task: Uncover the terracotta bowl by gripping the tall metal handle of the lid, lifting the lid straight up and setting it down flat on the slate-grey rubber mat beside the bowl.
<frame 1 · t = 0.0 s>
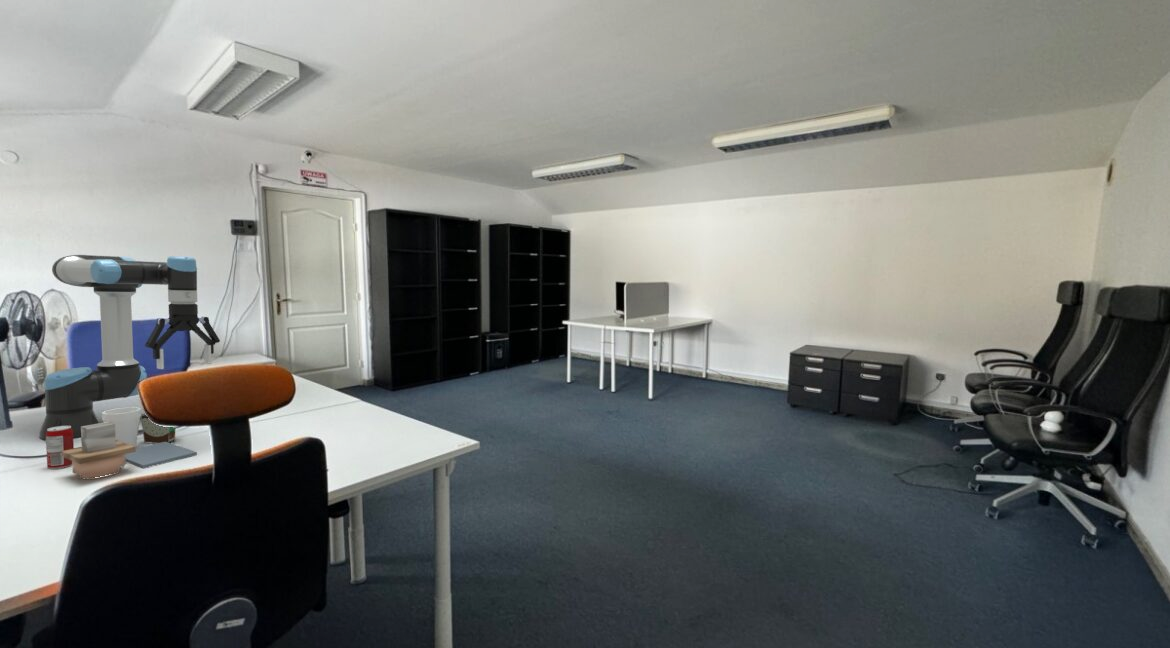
hand: (185, 366, 164), 28 cm above the table, tool pointing down, fingers open, 13 cm apart
bowl: (100, 473, 142), on the table
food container: (164, 441, 172), on the table
mat: (154, 455, 157), on the table
soda can: (61, 466, 146), on the table
foam cup: (123, 449, 163), on the table
lid: (99, 453, 141), point 6 cm above the table, touching bowl
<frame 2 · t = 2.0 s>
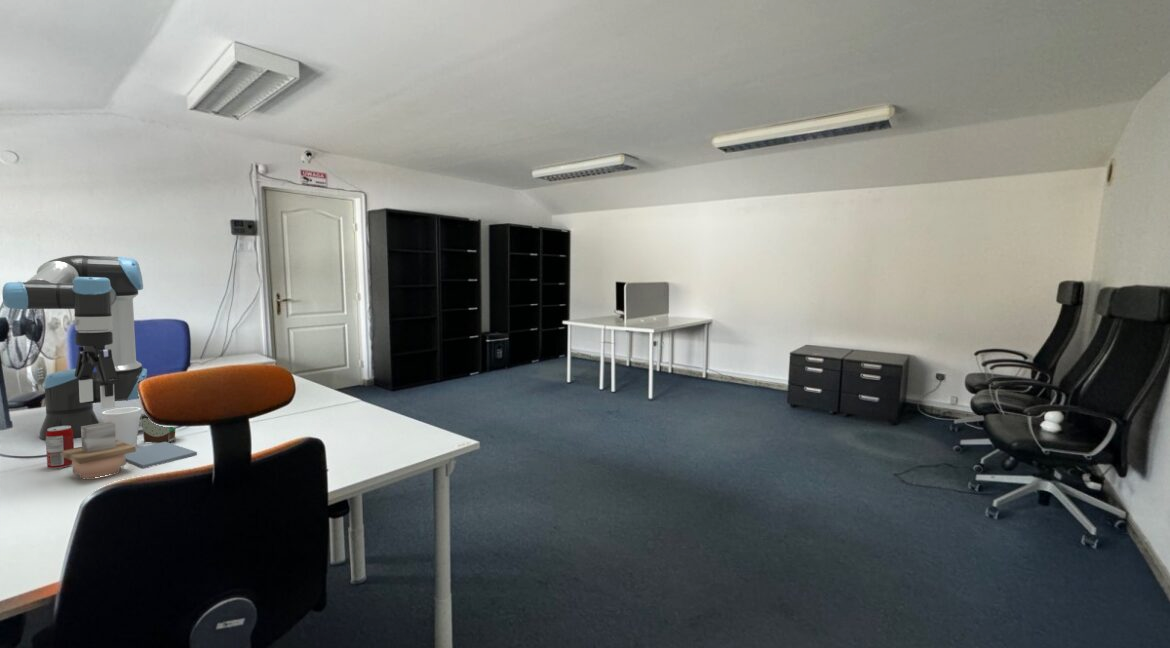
hand: (97, 404, 140), 21 cm above the table, tool pointing down, fingers open, 13 cm apart
nothing on the table moved.
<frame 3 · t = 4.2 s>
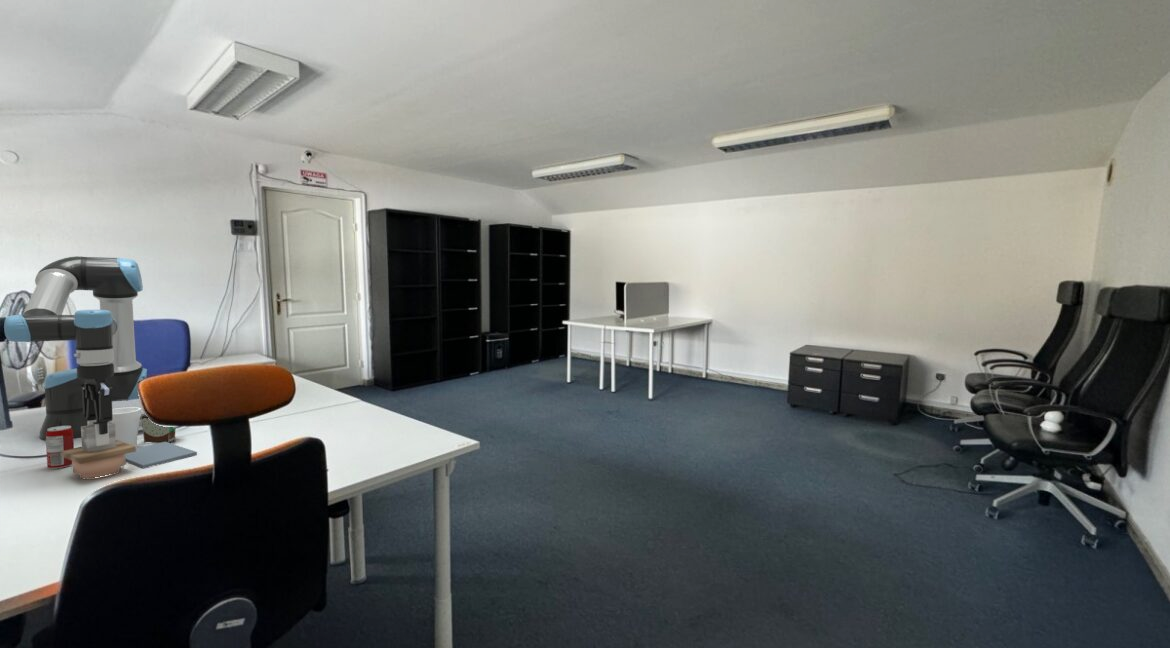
hand: (98, 443, 141), 9 cm above the table, tool pointing down, fingers closed on lid, 4 cm apart
lid: (99, 453, 141), point 6 cm above the table, touching bowl, gripper
everything else where it was.
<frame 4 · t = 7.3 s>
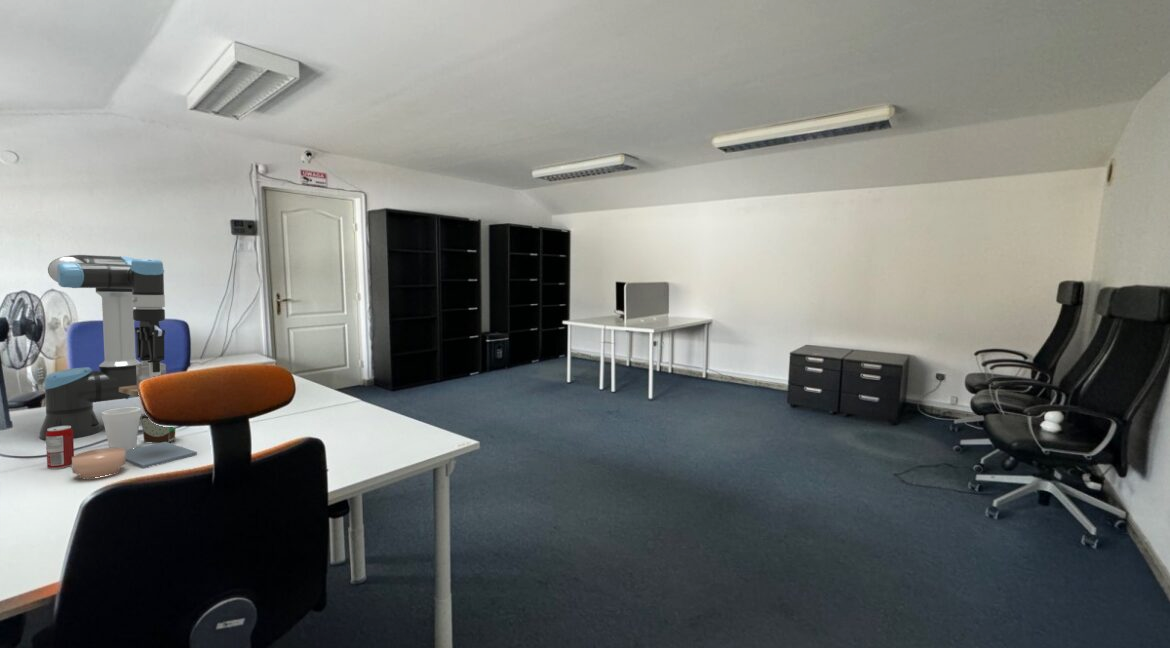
hand: (151, 381, 155), 24 cm above the table, tool pointing down, fingers closed on lid, 4 cm apart
lid: (151, 390, 155), point 21 cm above the table, touching gripper
everything else where it was.
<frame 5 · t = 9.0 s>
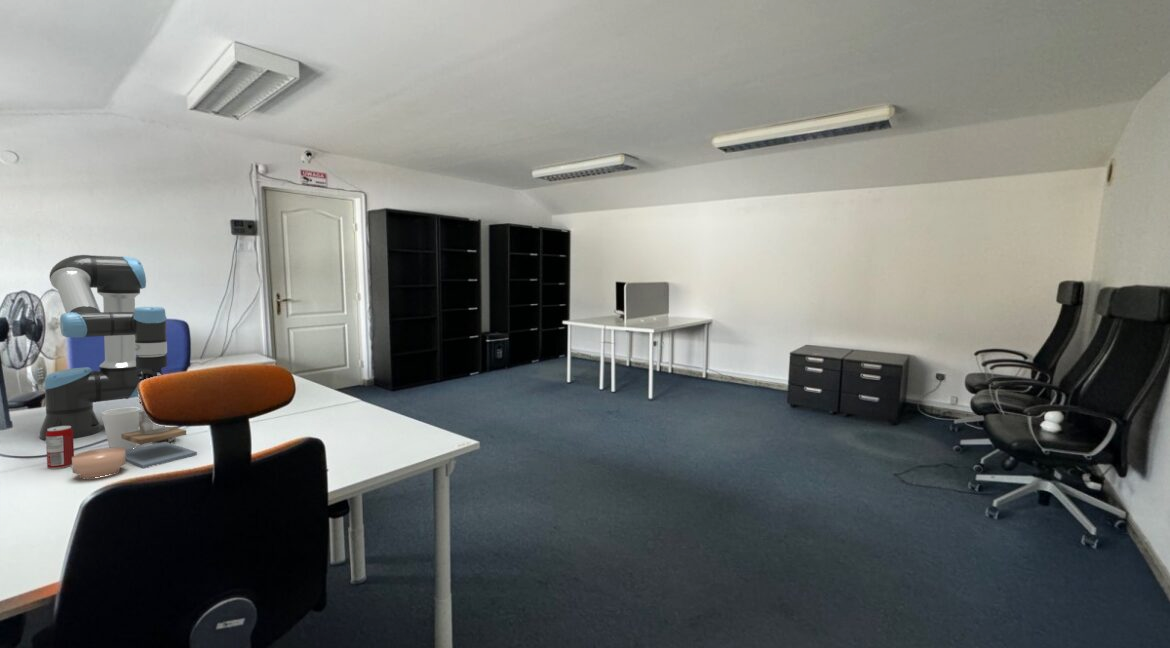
hand: (154, 427, 156), 9 cm above the table, tool pointing down, fingers closed on lid, 4 cm apart
lid: (154, 436, 157), point 6 cm above the table, touching gripper
everything else where it was.
when the fingers open (5 cm above the table, at t = 10.5 s): lid stays where it is, resting on mat.
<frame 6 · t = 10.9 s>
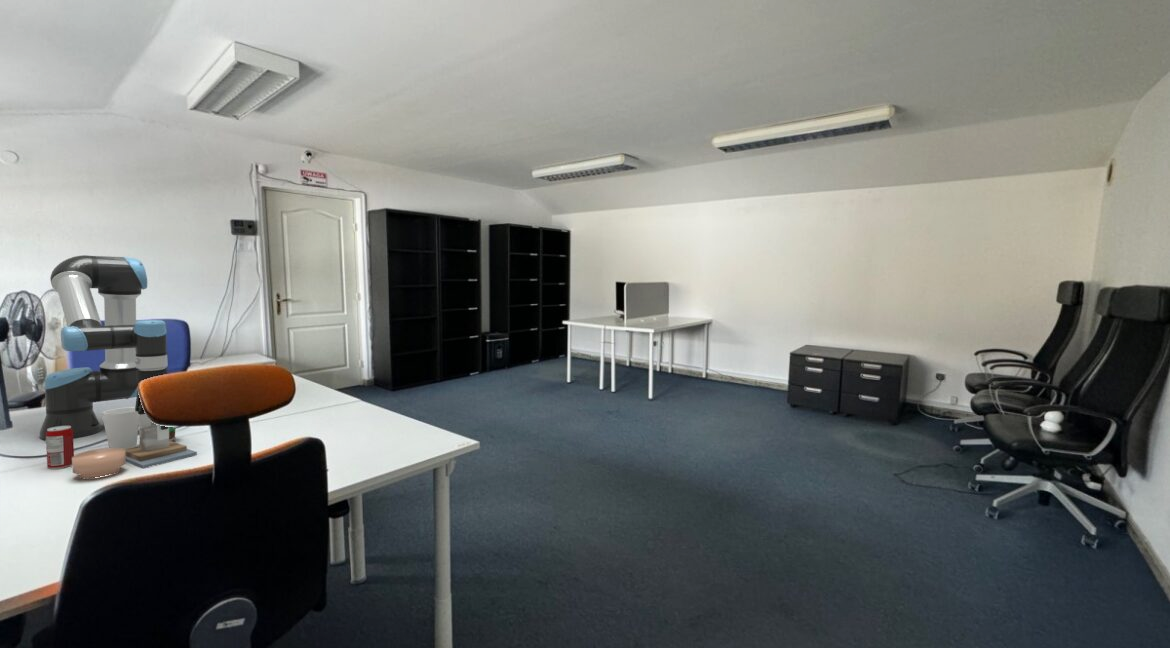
hand: (154, 436, 157), 6 cm above the table, tool pointing down, fingers open, 10 cm apart
lid: (154, 452, 157), point 1 cm above the table, touching mat
everything else where it was.
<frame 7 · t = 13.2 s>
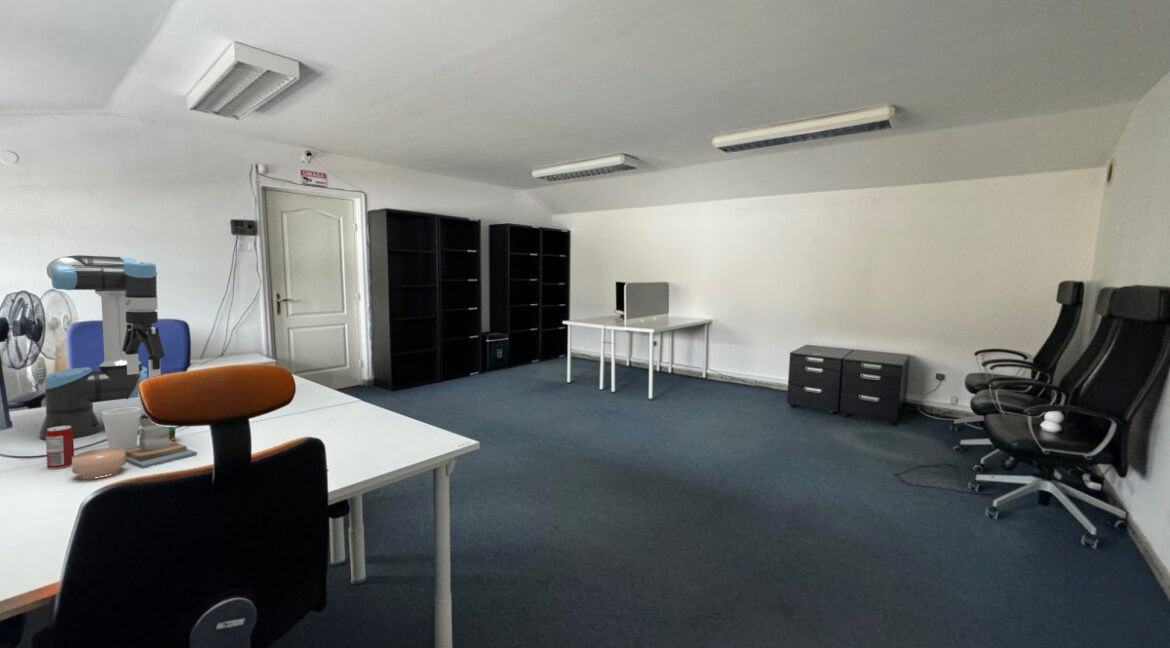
hand: (143, 376, 156), 26 cm above the table, tool pointing down, fingers open, 13 cm apart
nothing on the table moved.
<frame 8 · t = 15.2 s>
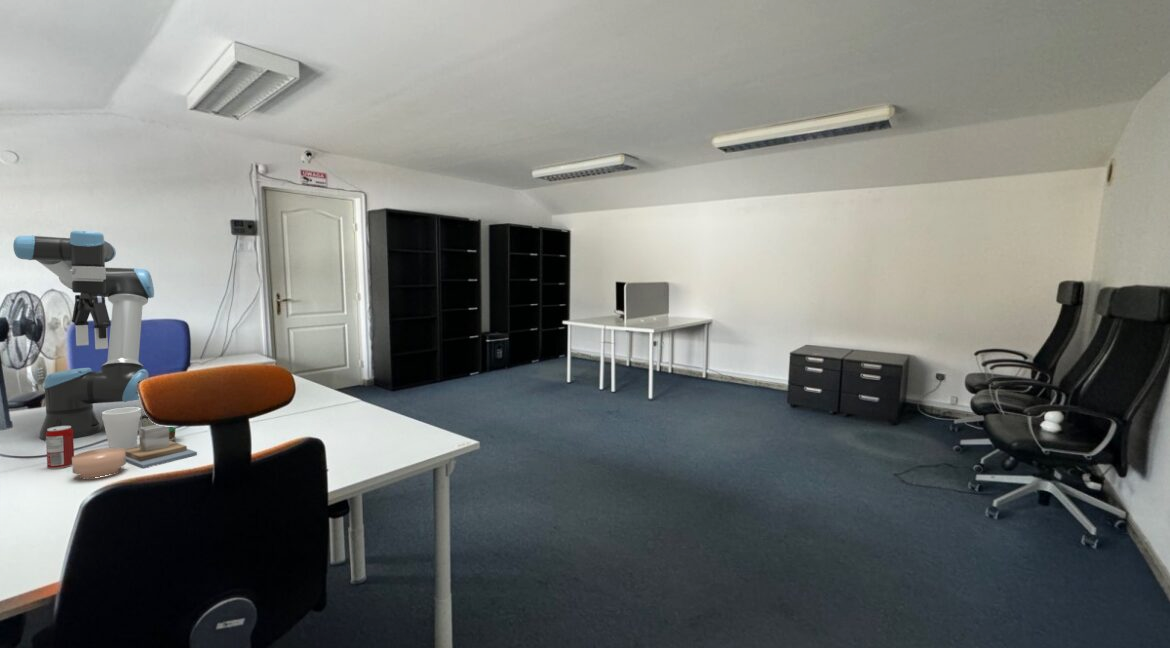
hand: (91, 347, 155), 35 cm above the table, tool pointing down, fingers open, 13 cm apart
nothing on the table moved.
at the end: lid inside the target area on the mat (0.0 cm from its centre), point 1.0 cm above the mat's base; lid touching mat; lid tilted 0° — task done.
